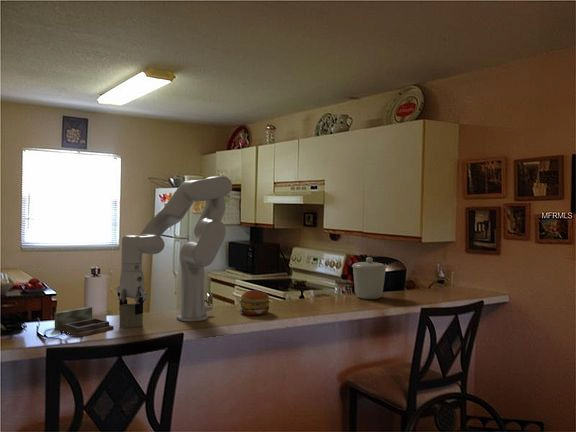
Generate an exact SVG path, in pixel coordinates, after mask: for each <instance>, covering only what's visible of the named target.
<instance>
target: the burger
mask: <svg viewBox="0 0 576 432" xmlns="http://www.w3.org/2000/svg"><path fill="white" fill-rule="evenodd" d="M270 303H271V301H270V296H269V295H268V294H267V293H266V292H264V291H261V290H257V289H256V290H255V289H254V290H248V291H246V292H243V294H241V296H240V300H239V304H240V305H239V307H238V309H239V313H240V314H241V313H242V314H243V315H244V314H245V315H249V316H260V315H261V316H262V315H265V314H268V312H269V311H270Z"/></svg>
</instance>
